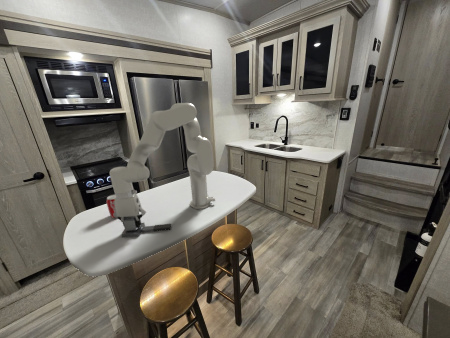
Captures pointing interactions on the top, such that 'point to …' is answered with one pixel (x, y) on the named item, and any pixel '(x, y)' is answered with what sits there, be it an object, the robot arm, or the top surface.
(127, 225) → the grey framed cube
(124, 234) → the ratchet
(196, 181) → the robot arm
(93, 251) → the top surface
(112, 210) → the soda can
